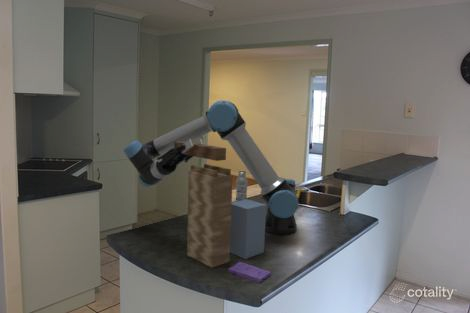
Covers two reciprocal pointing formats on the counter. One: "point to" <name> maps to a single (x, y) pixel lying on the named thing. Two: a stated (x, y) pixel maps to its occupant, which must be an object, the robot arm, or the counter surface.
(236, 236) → the blue step
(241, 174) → the plastic bottle
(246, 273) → the sponges
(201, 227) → the oak post
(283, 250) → the counter surface
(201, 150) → the walnut bar
